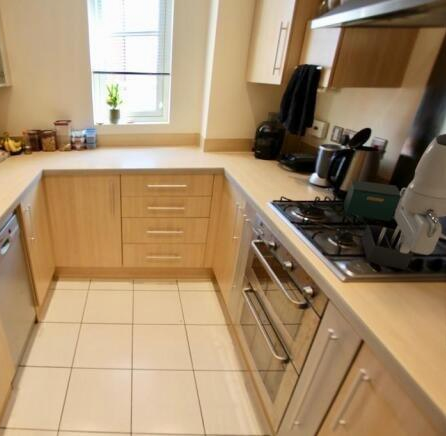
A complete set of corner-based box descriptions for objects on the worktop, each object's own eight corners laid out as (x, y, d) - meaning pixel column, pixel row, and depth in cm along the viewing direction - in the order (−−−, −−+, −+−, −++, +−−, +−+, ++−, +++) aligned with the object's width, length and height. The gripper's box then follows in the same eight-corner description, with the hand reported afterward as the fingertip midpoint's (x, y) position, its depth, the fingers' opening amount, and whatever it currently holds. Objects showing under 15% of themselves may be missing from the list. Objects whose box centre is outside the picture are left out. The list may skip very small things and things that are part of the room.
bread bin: (385, 210, 125) (396, 185, 120) (391, 222, 117) (402, 196, 112) (342, 204, 131) (351, 180, 126) (345, 214, 123) (354, 189, 118)
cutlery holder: (393, 249, 101) (406, 221, 96) (403, 273, 91) (419, 243, 86) (360, 243, 105) (371, 215, 100) (365, 265, 94) (378, 235, 89)
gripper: (459, 224, 67) (429, 276, 73) (430, 190, 83) (408, 235, 89) (420, 217, 69) (395, 268, 76) (400, 186, 85) (381, 230, 92)
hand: (402, 250), depth 83 cm, fingers closed
